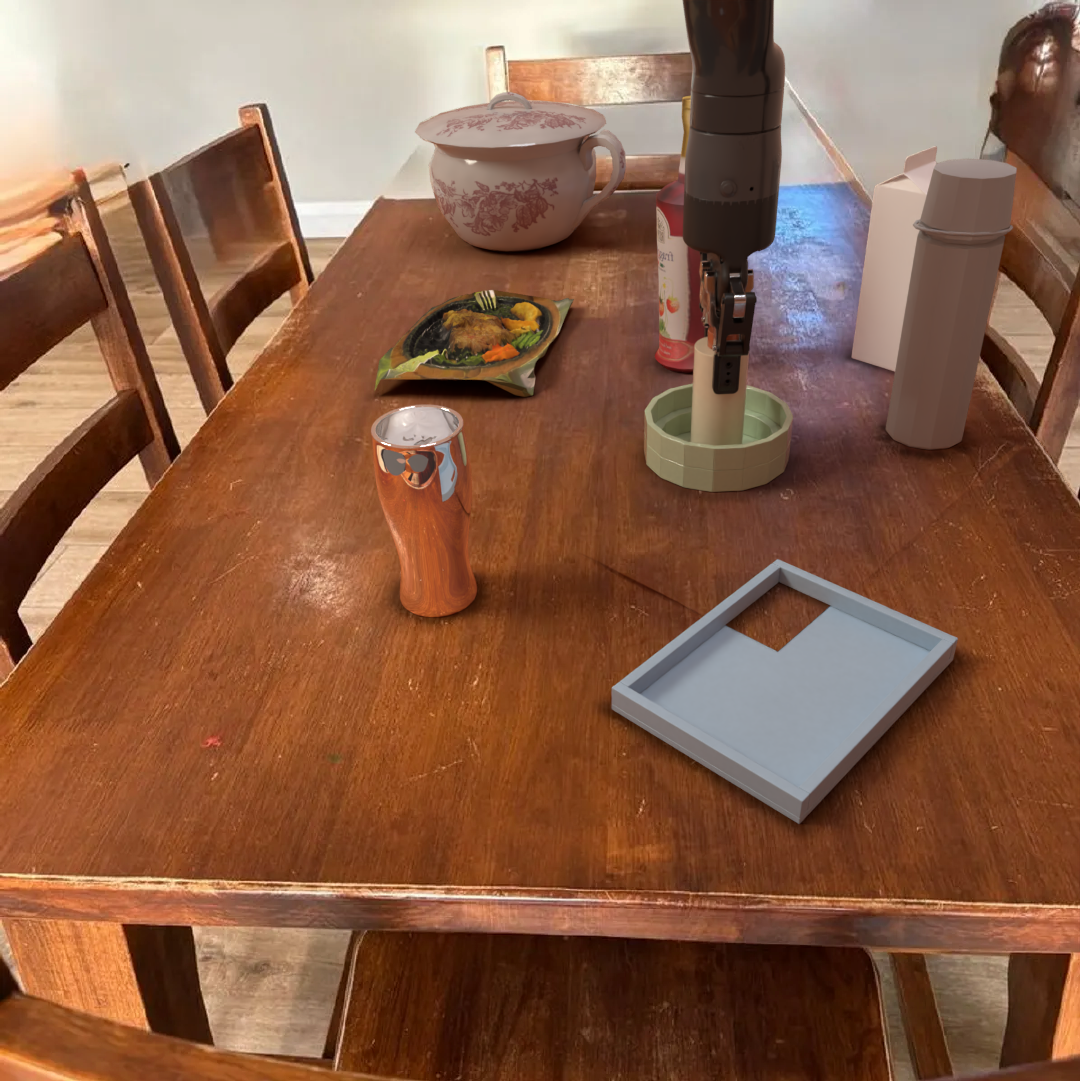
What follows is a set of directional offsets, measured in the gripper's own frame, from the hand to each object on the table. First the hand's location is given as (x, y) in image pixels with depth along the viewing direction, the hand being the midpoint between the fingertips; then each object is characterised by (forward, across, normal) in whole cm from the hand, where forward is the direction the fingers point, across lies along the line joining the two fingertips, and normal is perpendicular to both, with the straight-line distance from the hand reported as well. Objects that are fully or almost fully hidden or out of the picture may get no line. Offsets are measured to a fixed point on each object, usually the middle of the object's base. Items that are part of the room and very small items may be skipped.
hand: (719, 378), depth 90 cm
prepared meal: (+9, +29, +23) cm, 38 cm away
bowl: (+8, 0, 0) cm, 8 cm away
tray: (+8, -31, 0) cm, 32 cm away
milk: (+9, +21, -23) cm, 32 cm away
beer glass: (+9, -19, +25) cm, 32 cm away
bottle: (+8, 0, 0) cm, 8 cm away
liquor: (+9, +21, 0) cm, 23 cm away
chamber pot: (+9, +70, +19) cm, 73 cm away
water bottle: (+9, +4, -20) cm, 23 cm away
